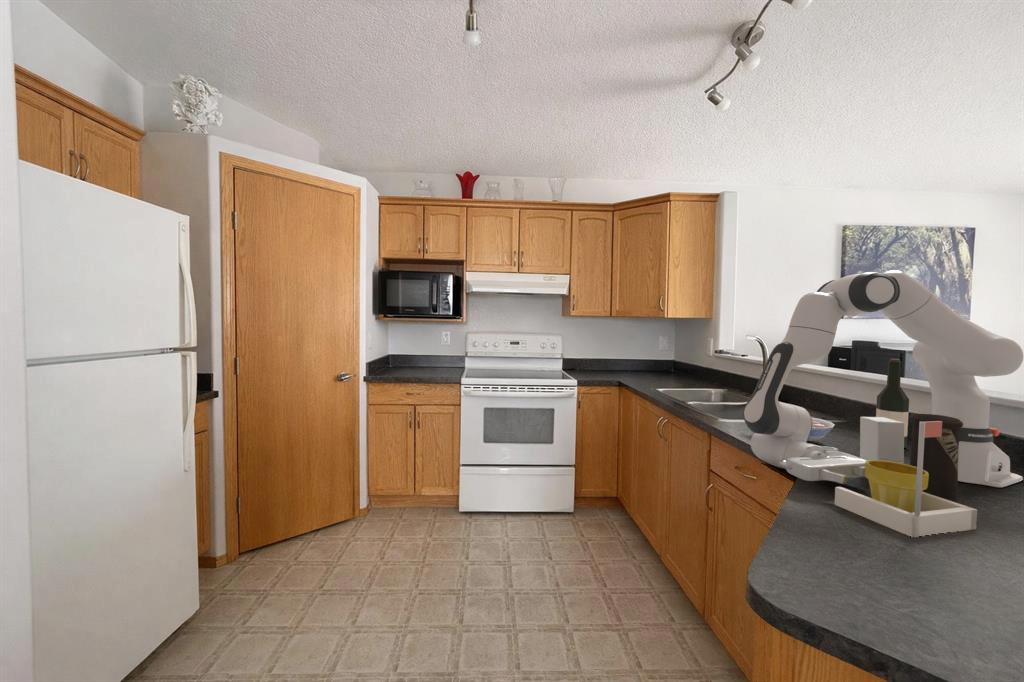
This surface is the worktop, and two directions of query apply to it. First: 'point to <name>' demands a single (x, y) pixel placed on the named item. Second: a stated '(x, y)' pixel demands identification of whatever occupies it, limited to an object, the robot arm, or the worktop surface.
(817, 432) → the ramen bowl
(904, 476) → the plant pot
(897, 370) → the wine bottle
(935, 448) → the container
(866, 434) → the skincare box
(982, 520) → the worktop surface
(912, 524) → the white frame with flag
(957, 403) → the robot arm
